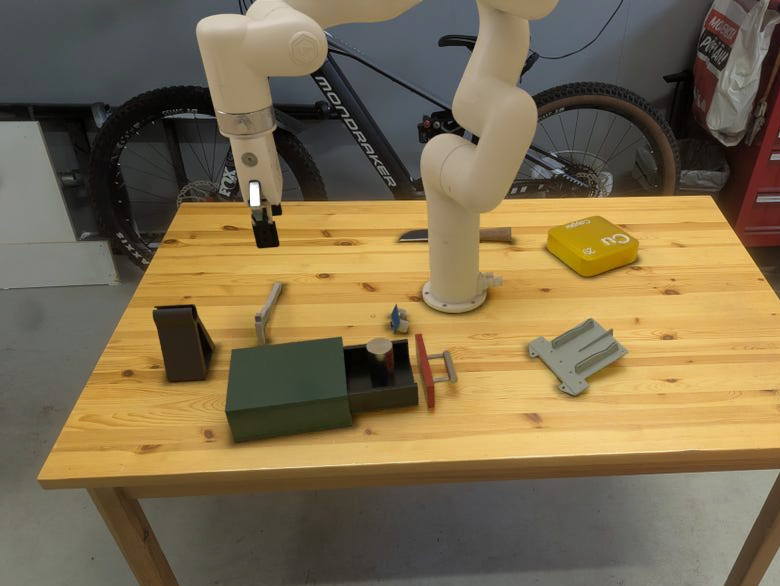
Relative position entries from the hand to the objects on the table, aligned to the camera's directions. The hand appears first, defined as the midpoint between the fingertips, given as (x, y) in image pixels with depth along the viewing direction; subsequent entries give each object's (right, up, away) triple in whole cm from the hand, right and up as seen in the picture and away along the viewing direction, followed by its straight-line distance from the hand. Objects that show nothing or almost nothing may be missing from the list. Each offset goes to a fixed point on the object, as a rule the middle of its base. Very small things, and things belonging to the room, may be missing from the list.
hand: (270, 230), depth 101 cm
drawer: (+17, -24, +9) cm, 31 cm away
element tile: (+56, +3, +44) cm, 71 cm away
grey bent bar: (-7, -11, +25) cm, 28 cm away
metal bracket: (+49, -20, +16) cm, 56 cm away
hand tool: (+26, +8, +47) cm, 55 cm away
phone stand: (-18, -21, +13) cm, 30 cm away
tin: (+16, -23, +8) cm, 29 cm away
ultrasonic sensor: (+17, -14, +23) cm, 31 cm away
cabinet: (+2, -26, +7) cm, 27 cm away
